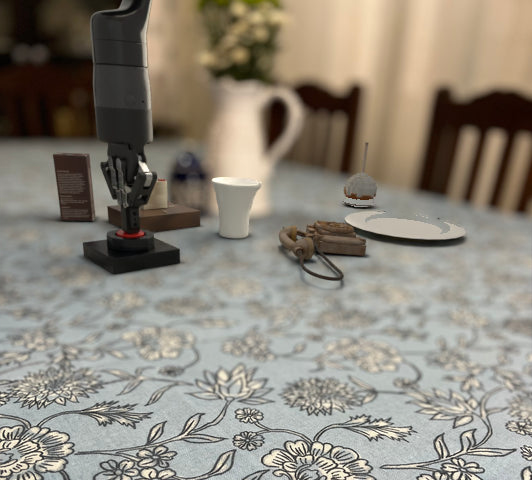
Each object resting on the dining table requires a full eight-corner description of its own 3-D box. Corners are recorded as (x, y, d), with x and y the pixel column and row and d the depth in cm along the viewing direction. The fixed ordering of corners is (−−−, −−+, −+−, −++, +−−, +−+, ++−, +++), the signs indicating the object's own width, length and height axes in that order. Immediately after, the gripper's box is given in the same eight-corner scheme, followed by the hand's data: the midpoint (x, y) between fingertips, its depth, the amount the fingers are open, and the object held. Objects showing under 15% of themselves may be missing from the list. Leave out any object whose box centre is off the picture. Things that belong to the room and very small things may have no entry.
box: (95, 216, 103) (90, 152, 98) (93, 221, 99) (86, 155, 94) (64, 216, 102) (56, 151, 97) (59, 221, 98) (51, 153, 93)
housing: (113, 274, 73) (111, 246, 71) (83, 256, 79) (81, 230, 78) (180, 262, 80) (179, 236, 78) (147, 247, 86) (146, 223, 84)
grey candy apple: (365, 203, 136) (374, 141, 129) (379, 209, 129) (389, 144, 123) (338, 202, 134) (345, 140, 127) (350, 209, 127) (359, 143, 120)
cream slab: (144, 209, 98) (142, 181, 95) (140, 208, 99) (139, 179, 96) (167, 207, 101) (166, 179, 98) (163, 206, 102) (162, 178, 99)
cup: (249, 243, 92) (251, 185, 88) (202, 236, 95) (202, 179, 90) (266, 233, 100) (269, 179, 95) (222, 226, 102) (223, 173, 98)
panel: (136, 234, 93) (135, 216, 92) (108, 221, 100) (107, 205, 99) (200, 226, 102) (200, 209, 100) (170, 215, 109) (170, 199, 107)
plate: (439, 254, 93) (441, 245, 92) (321, 228, 106) (322, 220, 105) (481, 233, 111) (483, 225, 111) (376, 213, 124) (377, 205, 124)
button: (125, 248, 76) (124, 237, 75) (112, 242, 78) (111, 230, 78) (149, 245, 78) (149, 233, 77) (136, 239, 81) (136, 228, 80)
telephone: (293, 286, 72) (297, 256, 70) (271, 230, 101) (273, 208, 100) (397, 294, 74) (403, 265, 72) (345, 237, 103) (349, 215, 101)
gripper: (173, 108, 68) (176, 239, 76) (125, 102, 76) (132, 220, 84) (121, 106, 63) (129, 246, 71) (76, 100, 72) (88, 225, 80)
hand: (131, 232), depth 78 cm, fingers closed
